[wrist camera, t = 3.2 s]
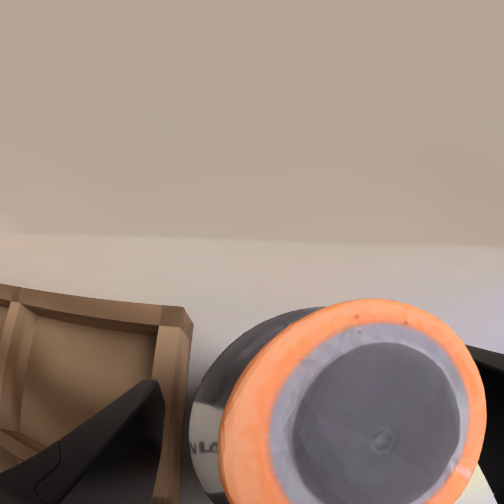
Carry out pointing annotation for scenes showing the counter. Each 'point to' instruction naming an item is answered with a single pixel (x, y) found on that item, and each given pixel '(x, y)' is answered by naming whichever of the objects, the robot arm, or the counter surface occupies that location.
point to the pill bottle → (340, 410)
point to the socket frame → (87, 370)
